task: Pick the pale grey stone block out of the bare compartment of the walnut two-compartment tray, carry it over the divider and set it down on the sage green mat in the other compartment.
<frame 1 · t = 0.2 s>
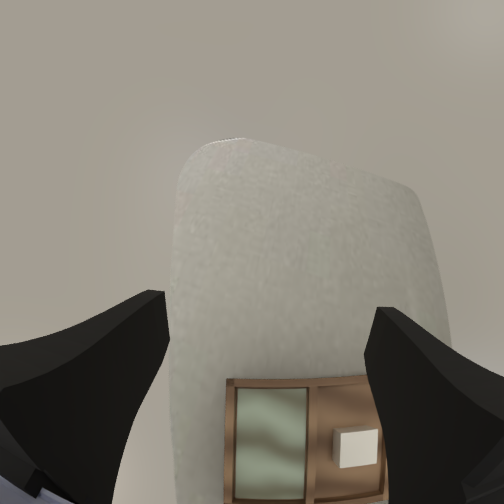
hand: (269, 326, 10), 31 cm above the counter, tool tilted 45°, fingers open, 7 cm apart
sorting tray: (309, 444, 33), on the counter
stone block: (349, 442, 32), point 1 cm above the counter, touching sorting tray
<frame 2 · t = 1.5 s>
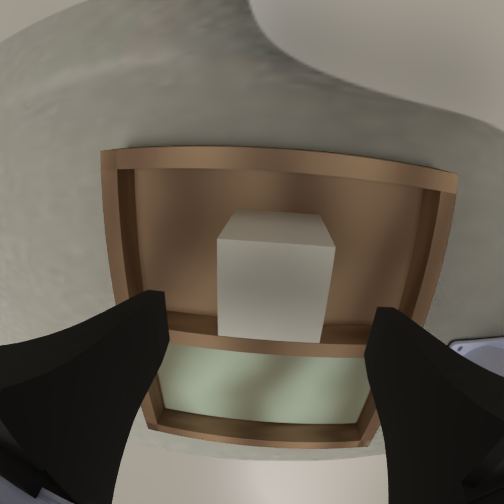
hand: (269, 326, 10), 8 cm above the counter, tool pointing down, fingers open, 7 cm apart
sorting tray: (270, 318, 19), on the counter
stone block: (275, 251, 17), point 1 cm above the counter, touching sorting tray
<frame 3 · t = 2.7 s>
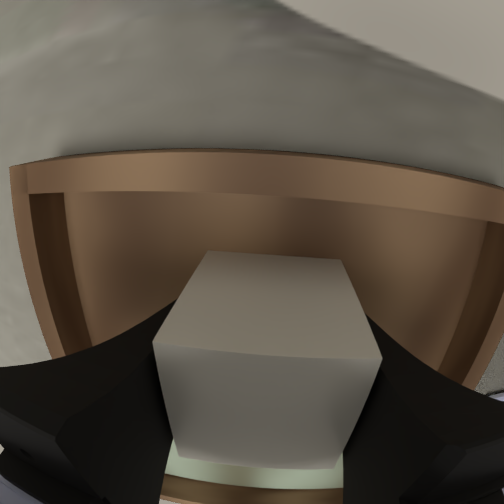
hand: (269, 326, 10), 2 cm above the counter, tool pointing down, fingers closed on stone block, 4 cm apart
sorting tray: (263, 388, 13), on the counter
stone block: (270, 312, 11), point 1 cm above the counter, touching gripper, sorting tray
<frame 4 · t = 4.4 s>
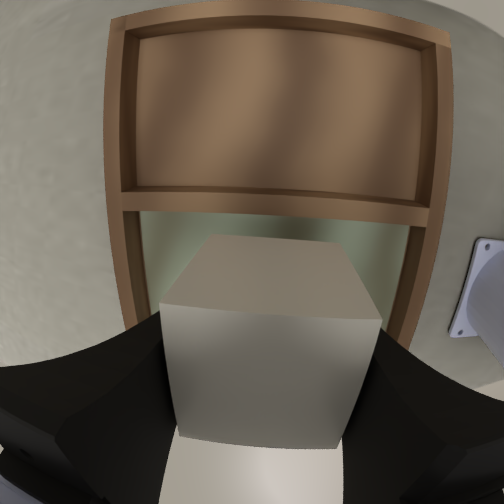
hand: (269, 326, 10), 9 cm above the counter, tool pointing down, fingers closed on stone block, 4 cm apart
sorting tray: (276, 194, 17), on the counter
stone block: (271, 296, 11), point 7 cm above the counter, touching gripper
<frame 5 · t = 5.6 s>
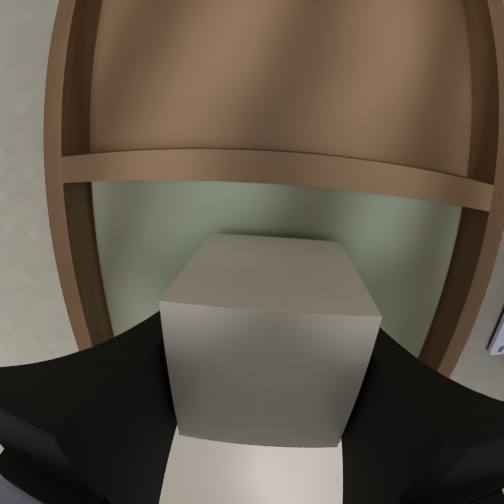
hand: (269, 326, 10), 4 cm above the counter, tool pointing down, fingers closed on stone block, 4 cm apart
sorting tray: (279, 161, 12), on the counter
stone block: (271, 295, 11), point 2 cm above the counter, touching gripper
when the fingers open (4 cm above the counter, at t = 6.4 s): stone block drops 1 cm, resting on sorting tray.
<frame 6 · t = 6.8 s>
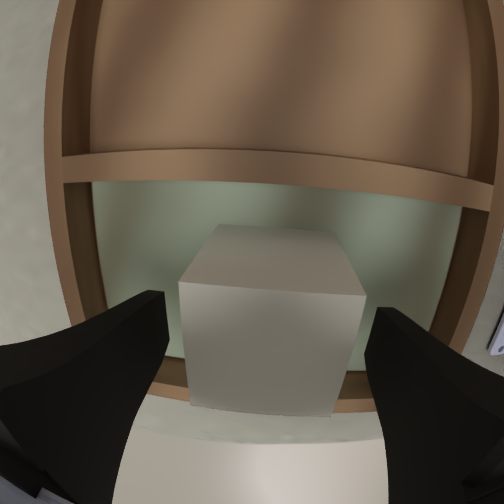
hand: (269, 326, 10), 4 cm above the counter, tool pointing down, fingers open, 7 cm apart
sorting tray: (280, 161, 12), on the counter
stone block: (272, 280, 12), point 1 cm above the counter, touching sorting tray
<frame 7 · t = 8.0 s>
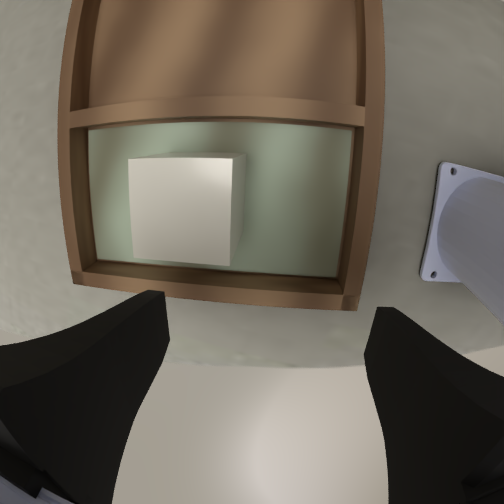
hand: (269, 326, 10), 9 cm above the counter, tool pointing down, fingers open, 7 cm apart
sorting tray: (212, 111, 16), on the counter
stone block: (205, 191, 17), point 1 cm above the counter, touching sorting tray
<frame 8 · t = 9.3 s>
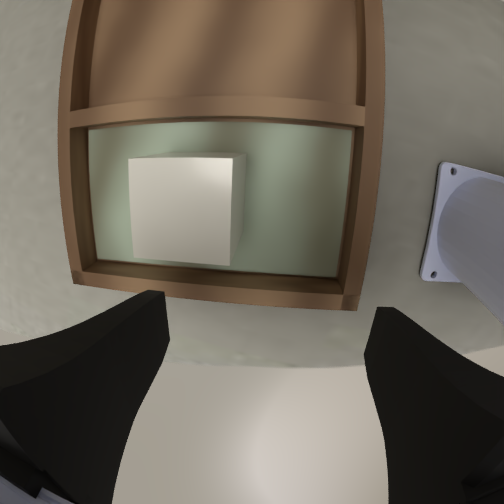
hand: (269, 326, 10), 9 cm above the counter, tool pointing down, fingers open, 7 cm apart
sorting tray: (212, 111, 16), on the counter
stone block: (205, 190, 17), point 1 cm above the counter, touching sorting tray
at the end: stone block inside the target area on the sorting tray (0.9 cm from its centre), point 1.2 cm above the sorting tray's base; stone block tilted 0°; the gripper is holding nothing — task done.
